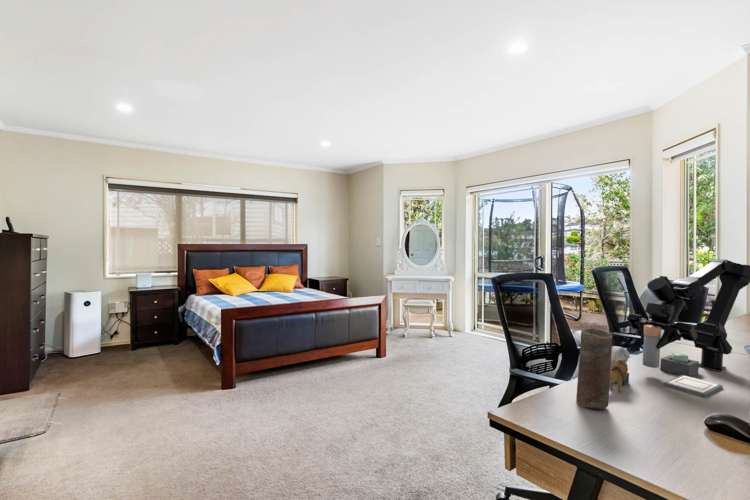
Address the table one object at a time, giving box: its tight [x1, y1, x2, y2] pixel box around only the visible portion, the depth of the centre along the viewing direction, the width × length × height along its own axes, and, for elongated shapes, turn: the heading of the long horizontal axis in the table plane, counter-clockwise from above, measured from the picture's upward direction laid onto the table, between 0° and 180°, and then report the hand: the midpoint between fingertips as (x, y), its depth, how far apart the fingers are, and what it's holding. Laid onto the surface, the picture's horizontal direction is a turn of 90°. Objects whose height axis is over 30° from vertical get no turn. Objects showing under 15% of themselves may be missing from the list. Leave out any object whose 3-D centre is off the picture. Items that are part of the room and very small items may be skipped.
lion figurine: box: [609, 359, 629, 394], centre depth 110 cm, size 15×5×9 cm, turn 113°
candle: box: [575, 328, 613, 410], centre depth 100 cm, size 8×7×20 cm
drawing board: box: [663, 375, 724, 398], centre depth 115 cm, size 14×10×1 cm
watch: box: [610, 345, 631, 387], centre depth 118 cm, size 6×8×11 cm
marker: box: [642, 325, 662, 369], centre depth 124 cm, size 5×5×13 cm
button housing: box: [659, 354, 700, 377], centre depth 129 cm, size 8×8×4 cm
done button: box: [671, 352, 689, 363], centre depth 129 cm, size 4×4×3 cm
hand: (649, 346), depth 123 cm, fingers closed on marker, 4 cm apart
